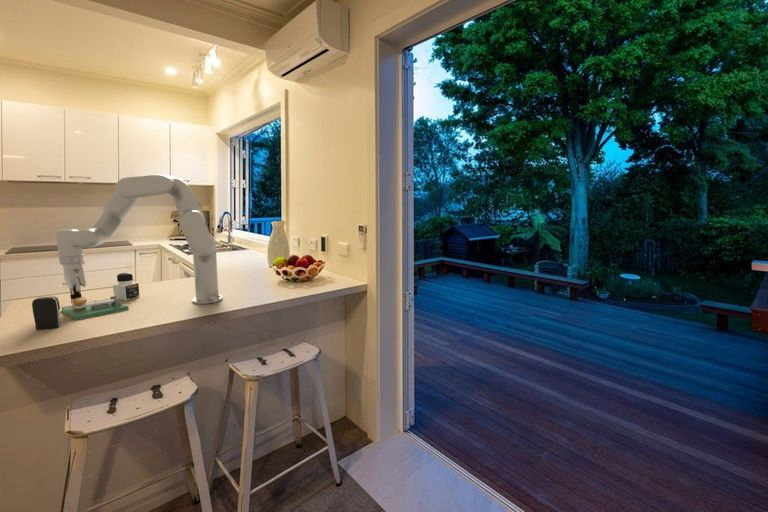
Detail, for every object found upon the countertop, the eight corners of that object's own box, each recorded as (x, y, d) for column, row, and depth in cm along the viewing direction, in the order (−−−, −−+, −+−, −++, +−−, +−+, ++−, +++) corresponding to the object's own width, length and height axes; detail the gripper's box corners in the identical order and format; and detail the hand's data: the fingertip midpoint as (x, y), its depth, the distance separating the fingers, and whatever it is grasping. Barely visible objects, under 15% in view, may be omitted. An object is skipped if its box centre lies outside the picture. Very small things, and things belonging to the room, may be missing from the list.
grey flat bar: (119, 302, 158) (118, 298, 158) (77, 309, 147) (76, 305, 147) (116, 300, 160) (116, 297, 160) (74, 307, 149) (74, 304, 149)
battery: (63, 324, 138) (59, 294, 137) (59, 328, 135) (55, 297, 133) (39, 327, 136) (35, 296, 134) (34, 330, 132) (30, 299, 131)
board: (128, 309, 158) (127, 298, 157) (74, 320, 144) (73, 308, 143) (112, 301, 169) (111, 291, 168) (61, 310, 155) (60, 299, 154)
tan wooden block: (89, 309, 151) (88, 299, 150) (77, 312, 148) (75, 301, 147) (84, 306, 155) (83, 296, 154) (72, 308, 152) (71, 298, 151)
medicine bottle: (127, 301, 170) (124, 275, 168) (113, 300, 172) (111, 274, 170) (140, 297, 177) (137, 272, 175) (127, 296, 179) (124, 271, 177)
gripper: (88, 260, 150) (93, 304, 153) (77, 256, 159) (82, 298, 162) (64, 263, 144) (70, 308, 147) (54, 258, 153) (60, 302, 156)
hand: (76, 303), depth 154 cm, fingers closed
